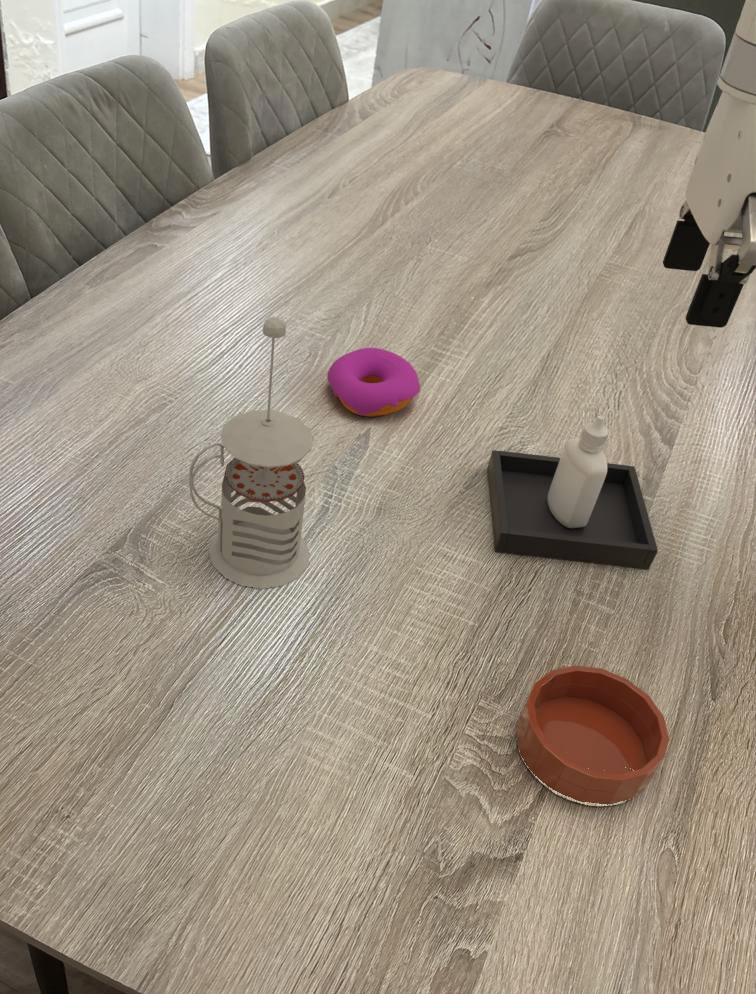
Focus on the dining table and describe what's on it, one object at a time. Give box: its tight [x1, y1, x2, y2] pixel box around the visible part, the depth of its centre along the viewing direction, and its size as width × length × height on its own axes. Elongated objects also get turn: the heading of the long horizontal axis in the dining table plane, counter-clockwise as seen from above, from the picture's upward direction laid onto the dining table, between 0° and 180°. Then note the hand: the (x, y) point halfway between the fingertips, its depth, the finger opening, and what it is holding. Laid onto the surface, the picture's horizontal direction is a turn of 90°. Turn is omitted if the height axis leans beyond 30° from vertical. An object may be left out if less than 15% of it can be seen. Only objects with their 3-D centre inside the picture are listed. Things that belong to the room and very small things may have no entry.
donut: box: [326, 347, 421, 417], centre depth 110 cm, size 10×10×5 cm
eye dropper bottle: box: [547, 414, 610, 528], centre depth 94 cm, size 4×6×12 cm
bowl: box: [515, 665, 670, 805], centre depth 76 cm, size 11×11×4 cm
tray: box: [486, 449, 659, 570], centre depth 98 cm, size 16×14×3 cm
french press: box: [188, 316, 314, 590], centre depth 82 cm, size 10×12×25 cm
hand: (691, 295), depth 79 cm, fingers open, 9 cm apart
